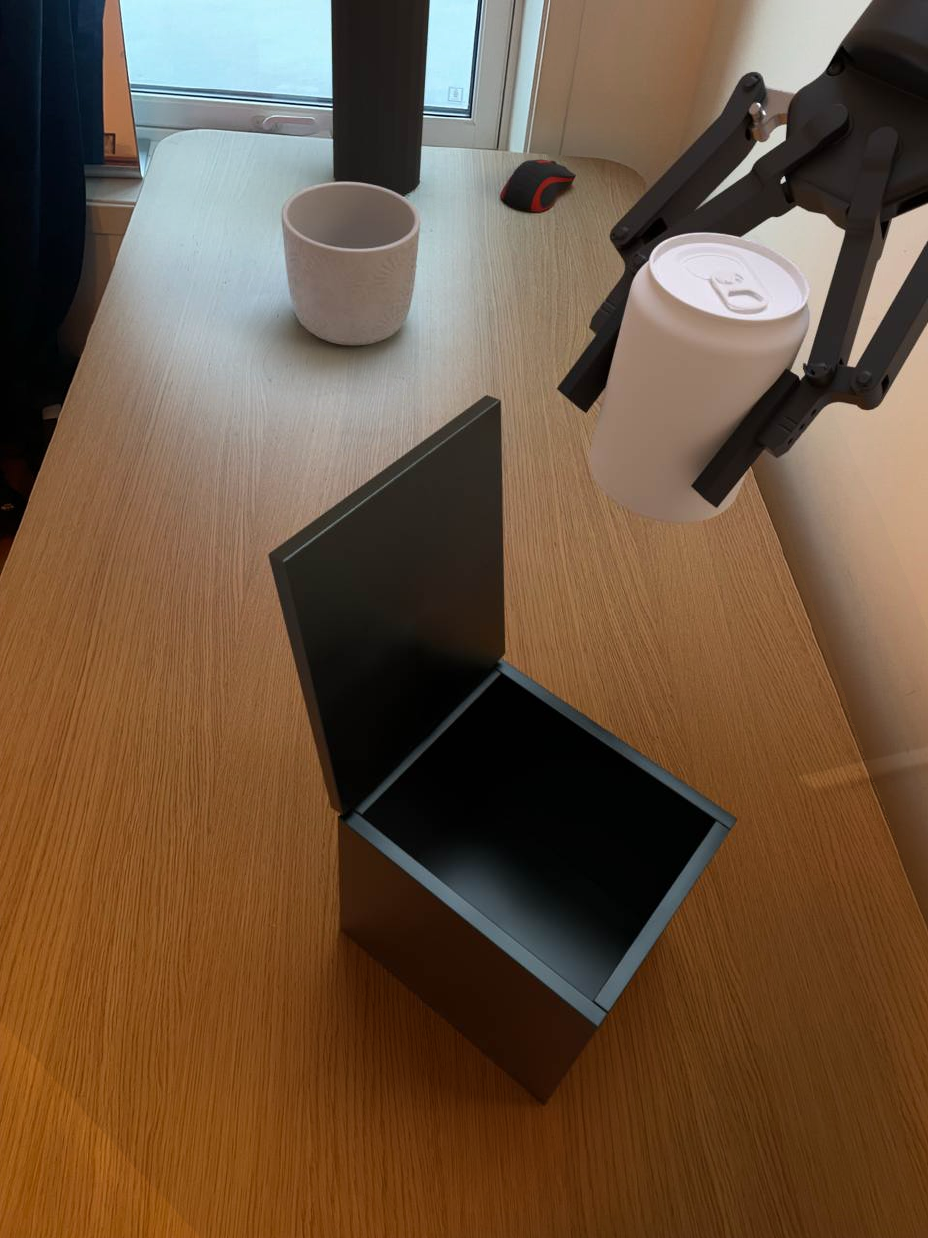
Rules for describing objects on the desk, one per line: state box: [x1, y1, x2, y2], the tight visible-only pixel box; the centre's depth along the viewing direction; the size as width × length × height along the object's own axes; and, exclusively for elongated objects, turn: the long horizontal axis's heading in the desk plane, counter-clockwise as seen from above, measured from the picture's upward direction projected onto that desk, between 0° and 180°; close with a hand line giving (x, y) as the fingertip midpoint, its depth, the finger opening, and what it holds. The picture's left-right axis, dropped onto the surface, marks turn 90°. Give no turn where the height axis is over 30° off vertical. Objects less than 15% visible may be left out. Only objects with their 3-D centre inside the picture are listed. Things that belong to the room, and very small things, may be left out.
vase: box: [330, 0, 431, 196], centre depth 100 cm, size 10×10×30 cm
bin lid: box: [267, 394, 506, 815], centre depth 41 cm, size 15×13×1 cm
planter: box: [280, 181, 421, 346], centre depth 88 cm, size 12×12×11 cm
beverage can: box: [588, 233, 811, 524], centre depth 46 cm, size 8×8×12 cm
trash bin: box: [337, 658, 738, 1107], centre depth 50 cm, size 15×13×14 cm
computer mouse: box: [500, 159, 577, 213], centre depth 111 cm, size 6×11×4 cm, turn 149°
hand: (635, 447), depth 46 cm, fingers closed on beverage can, 8 cm apart
